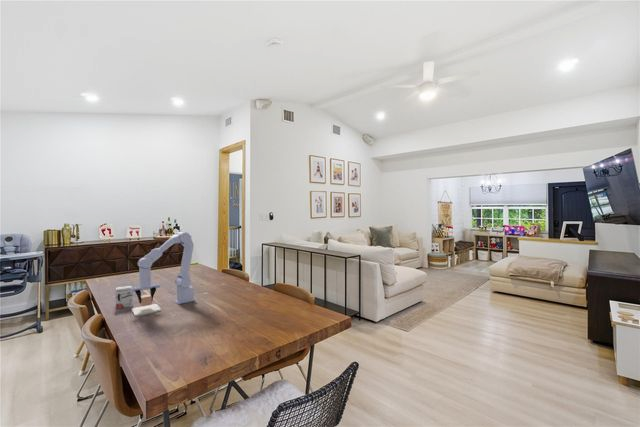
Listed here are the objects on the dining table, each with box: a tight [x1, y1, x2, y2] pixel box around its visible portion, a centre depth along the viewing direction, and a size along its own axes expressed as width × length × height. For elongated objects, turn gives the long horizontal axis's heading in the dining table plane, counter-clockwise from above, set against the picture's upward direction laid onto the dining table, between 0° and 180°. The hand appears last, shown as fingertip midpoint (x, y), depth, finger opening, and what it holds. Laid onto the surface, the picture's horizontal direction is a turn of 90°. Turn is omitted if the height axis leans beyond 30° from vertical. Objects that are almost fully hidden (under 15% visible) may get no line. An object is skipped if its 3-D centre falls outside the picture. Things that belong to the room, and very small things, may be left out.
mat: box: [131, 303, 162, 317], centre depth 171 cm, size 13×13×1 cm
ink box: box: [115, 285, 134, 310], centre depth 179 cm, size 8×5×12 cm, turn 123°
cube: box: [139, 293, 153, 307], centre depth 171 cm, size 5×5×5 cm
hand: (145, 301), depth 171 cm, fingers closed on cube, 5 cm apart
